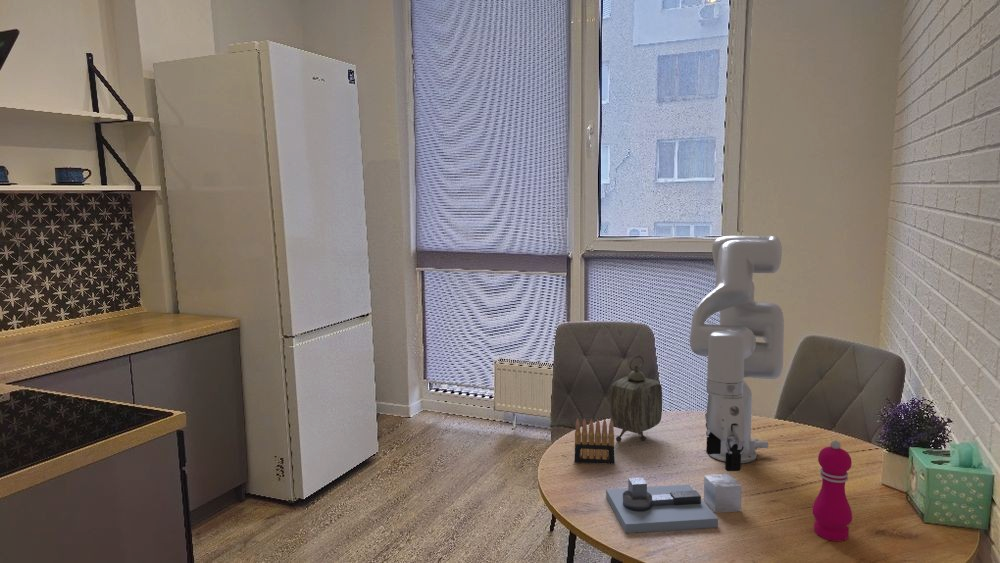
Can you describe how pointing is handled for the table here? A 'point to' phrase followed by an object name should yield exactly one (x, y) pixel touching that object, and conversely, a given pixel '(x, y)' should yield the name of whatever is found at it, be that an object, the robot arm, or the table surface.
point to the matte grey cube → (722, 493)
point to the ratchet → (654, 497)
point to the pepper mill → (833, 494)
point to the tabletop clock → (635, 402)
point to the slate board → (661, 513)
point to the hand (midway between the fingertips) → (722, 461)
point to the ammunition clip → (593, 451)
